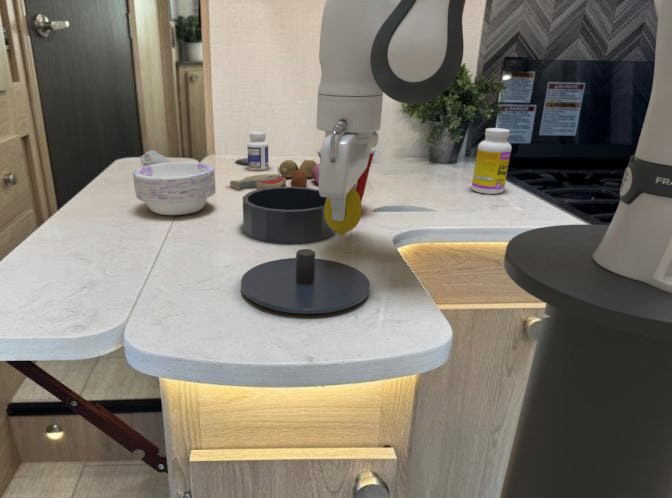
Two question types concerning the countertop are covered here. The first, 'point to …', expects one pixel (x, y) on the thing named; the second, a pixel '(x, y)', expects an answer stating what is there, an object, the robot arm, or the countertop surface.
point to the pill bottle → (257, 151)
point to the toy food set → (287, 171)
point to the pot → (285, 215)
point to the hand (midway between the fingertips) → (343, 213)
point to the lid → (305, 284)
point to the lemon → (351, 216)
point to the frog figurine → (152, 158)
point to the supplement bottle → (492, 162)
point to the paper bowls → (175, 186)
